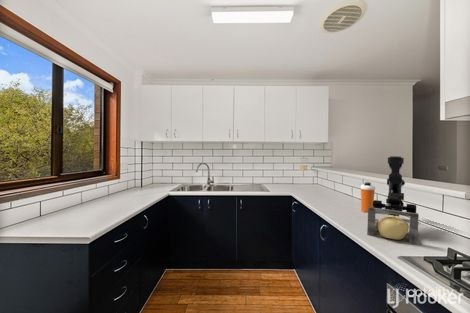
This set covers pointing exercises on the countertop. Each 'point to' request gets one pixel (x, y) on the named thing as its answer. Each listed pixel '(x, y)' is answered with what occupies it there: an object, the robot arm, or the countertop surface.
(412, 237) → the channel
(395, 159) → the robot arm
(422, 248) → the countertop surface
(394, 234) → the pale yellow round lump
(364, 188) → the shaker bottle
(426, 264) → the countertop surface
